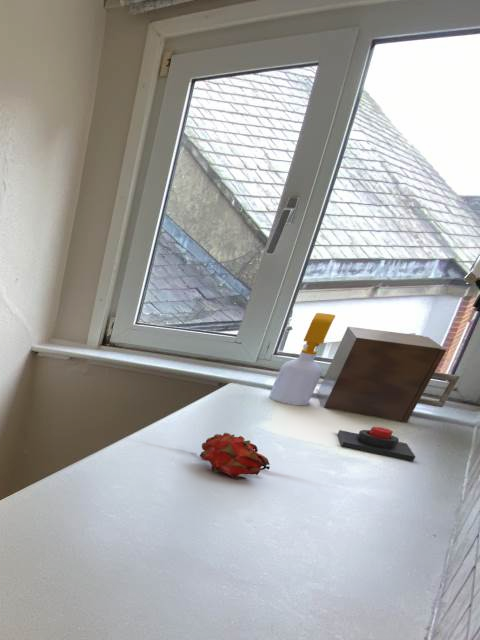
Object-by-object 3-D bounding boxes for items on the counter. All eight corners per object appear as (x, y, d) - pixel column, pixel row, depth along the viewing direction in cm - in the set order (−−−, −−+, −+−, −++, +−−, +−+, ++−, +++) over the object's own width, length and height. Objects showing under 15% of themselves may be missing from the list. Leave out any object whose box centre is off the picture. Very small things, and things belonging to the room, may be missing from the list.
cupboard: (386, 405, 158) (422, 335, 149) (399, 425, 142) (441, 348, 133) (317, 393, 166) (347, 326, 157) (322, 410, 150) (356, 337, 141)
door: (415, 409, 155) (454, 340, 146) (431, 430, 139) (476, 353, 130) (387, 405, 158) (423, 336, 149) (400, 424, 142) (441, 349, 133)
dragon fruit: (189, 466, 114) (250, 496, 107) (187, 453, 108) (252, 484, 100) (215, 433, 114) (278, 461, 106) (215, 418, 107) (282, 446, 100)
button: (387, 436, 123) (391, 429, 122) (390, 441, 120) (394, 433, 119) (367, 432, 124) (370, 425, 124) (369, 436, 122) (373, 429, 121)
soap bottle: (308, 404, 155) (348, 315, 144) (304, 410, 149) (346, 318, 138) (270, 396, 161) (306, 310, 150) (265, 402, 155) (302, 313, 144)
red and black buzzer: (401, 452, 124) (411, 435, 123) (410, 466, 117) (420, 449, 115) (335, 438, 130) (342, 422, 129) (339, 450, 123) (347, 434, 121)
